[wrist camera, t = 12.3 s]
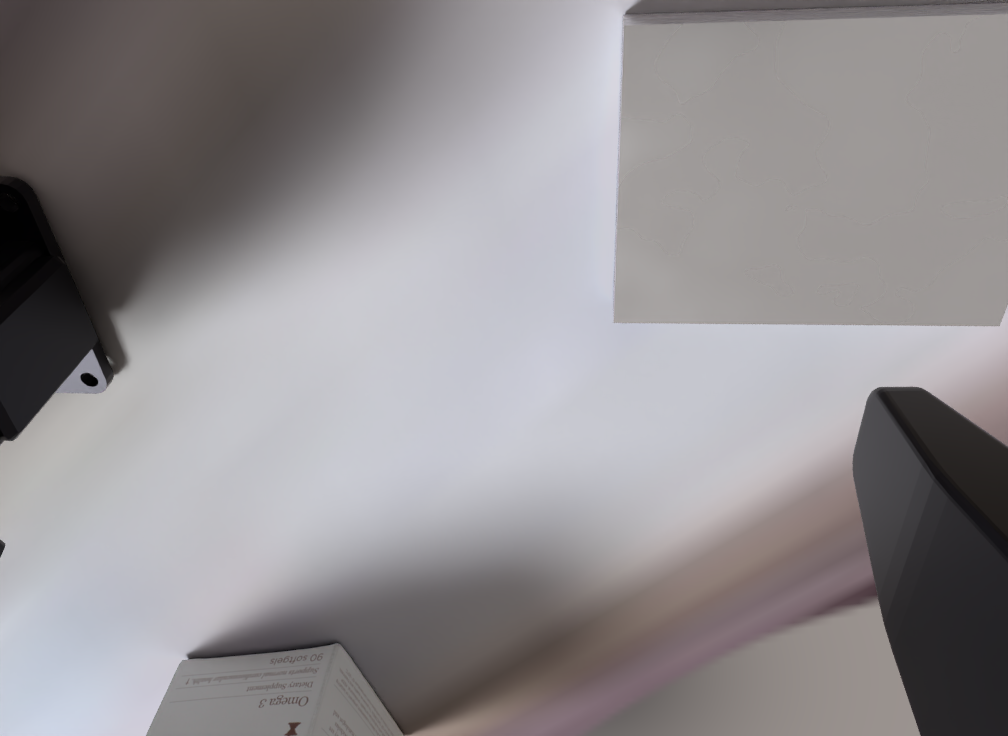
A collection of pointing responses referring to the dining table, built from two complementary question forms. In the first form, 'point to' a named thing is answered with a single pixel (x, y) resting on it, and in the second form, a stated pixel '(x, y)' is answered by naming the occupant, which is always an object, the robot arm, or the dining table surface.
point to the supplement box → (272, 697)
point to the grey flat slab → (814, 167)
